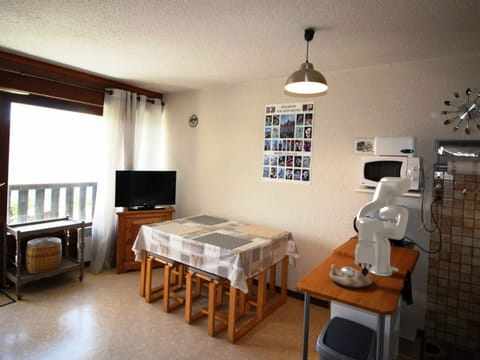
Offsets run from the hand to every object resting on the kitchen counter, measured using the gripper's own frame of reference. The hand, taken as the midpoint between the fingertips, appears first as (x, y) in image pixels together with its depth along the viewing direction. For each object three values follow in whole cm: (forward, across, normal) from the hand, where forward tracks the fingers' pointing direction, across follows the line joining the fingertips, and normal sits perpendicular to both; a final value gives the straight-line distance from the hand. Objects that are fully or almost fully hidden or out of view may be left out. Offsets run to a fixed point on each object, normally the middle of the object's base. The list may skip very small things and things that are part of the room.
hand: (364, 275), depth 161 cm
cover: (+1, +9, 0) cm, 9 cm away
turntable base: (+4, +8, +1) cm, 9 cm away
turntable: (+2, +7, +1) cm, 8 cm away
